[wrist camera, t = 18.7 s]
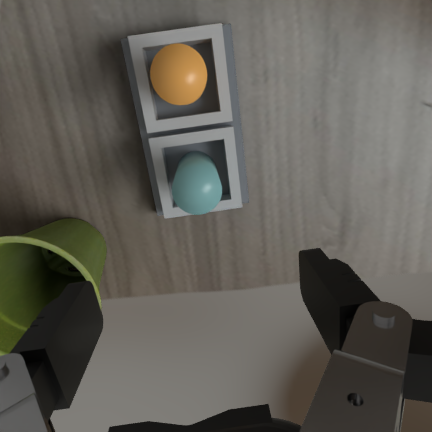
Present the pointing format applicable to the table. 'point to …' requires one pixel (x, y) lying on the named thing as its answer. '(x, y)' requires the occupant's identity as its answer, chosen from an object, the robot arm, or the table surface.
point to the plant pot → (44, 271)
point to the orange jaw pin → (178, 74)
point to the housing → (189, 115)
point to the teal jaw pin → (196, 184)
